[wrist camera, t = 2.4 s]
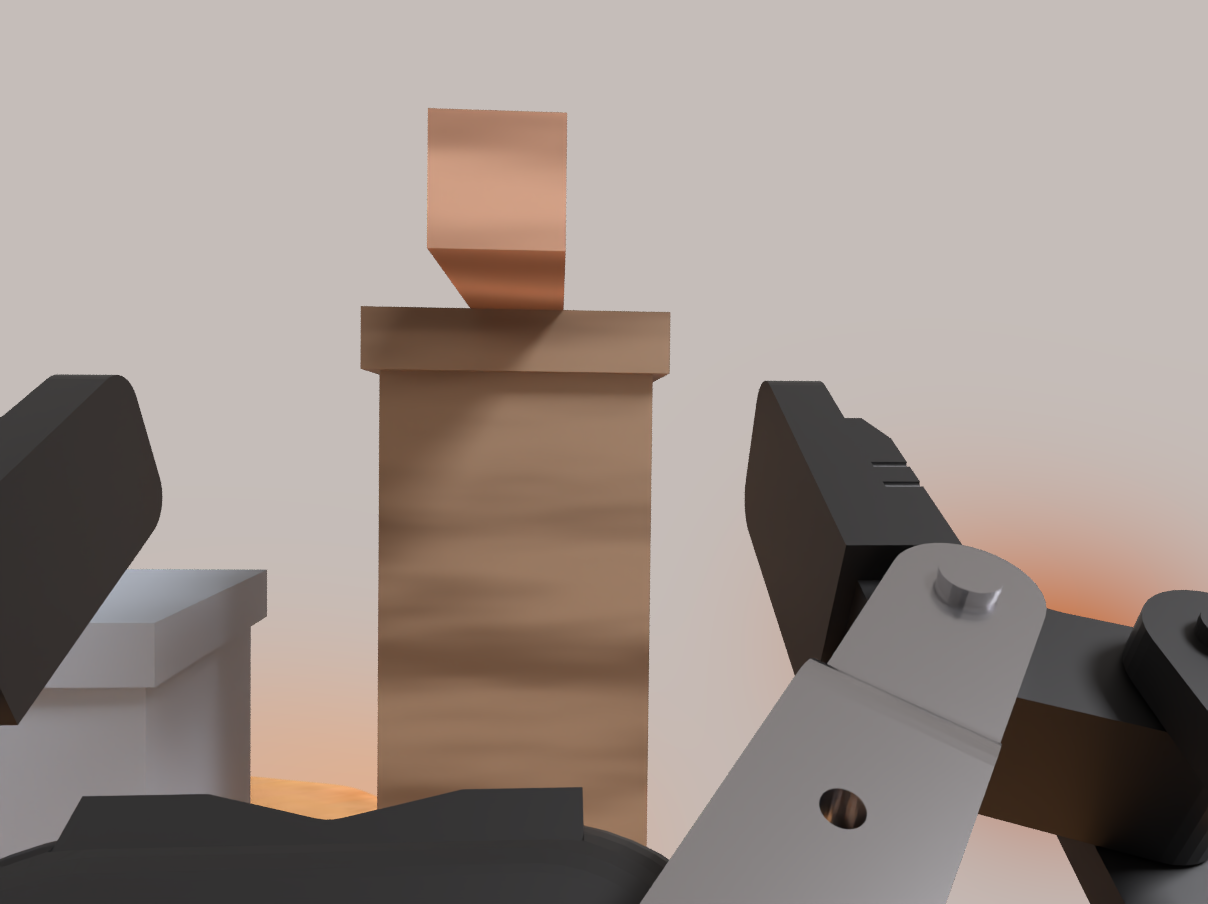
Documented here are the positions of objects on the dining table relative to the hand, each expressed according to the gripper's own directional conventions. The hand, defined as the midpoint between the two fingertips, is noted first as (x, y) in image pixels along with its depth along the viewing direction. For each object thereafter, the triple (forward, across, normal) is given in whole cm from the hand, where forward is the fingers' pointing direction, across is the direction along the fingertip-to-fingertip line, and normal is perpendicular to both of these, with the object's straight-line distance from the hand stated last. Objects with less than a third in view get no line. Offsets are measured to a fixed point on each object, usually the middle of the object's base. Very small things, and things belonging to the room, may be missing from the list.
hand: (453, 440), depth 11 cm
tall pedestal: (+5, 0, +35) cm, 35 cm away
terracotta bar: (+18, 0, +6) cm, 19 cm away
